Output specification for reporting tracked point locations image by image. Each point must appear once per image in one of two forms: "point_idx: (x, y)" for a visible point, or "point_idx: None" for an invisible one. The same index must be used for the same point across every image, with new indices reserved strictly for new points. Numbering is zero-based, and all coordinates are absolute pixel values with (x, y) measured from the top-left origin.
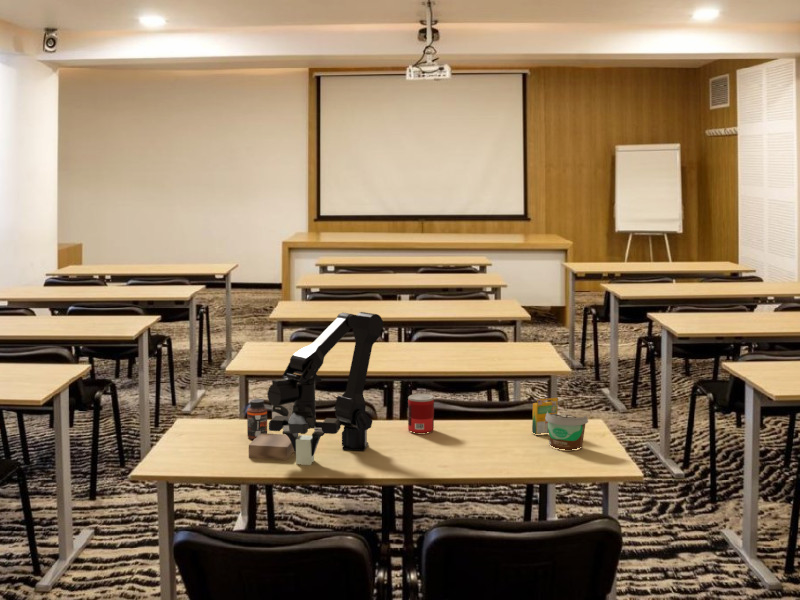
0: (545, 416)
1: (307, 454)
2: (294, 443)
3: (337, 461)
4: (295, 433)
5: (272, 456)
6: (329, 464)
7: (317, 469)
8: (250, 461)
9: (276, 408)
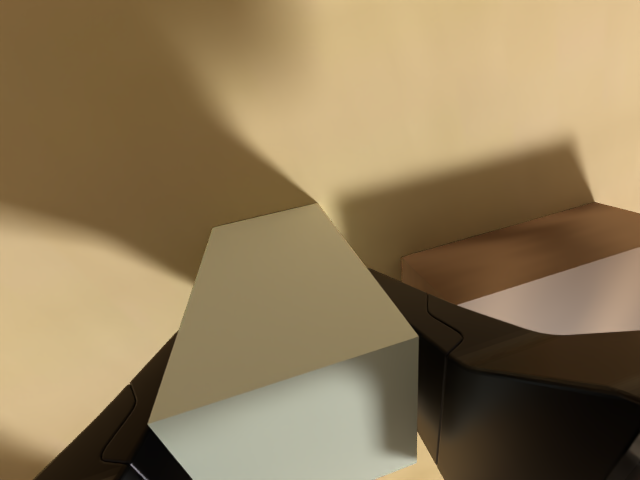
0: None
1: (229, 261)
2: (407, 307)
3: (86, 358)
4: (491, 461)
5: (491, 240)
6: (91, 295)
7: (92, 164)
8: (588, 149)
9: None
